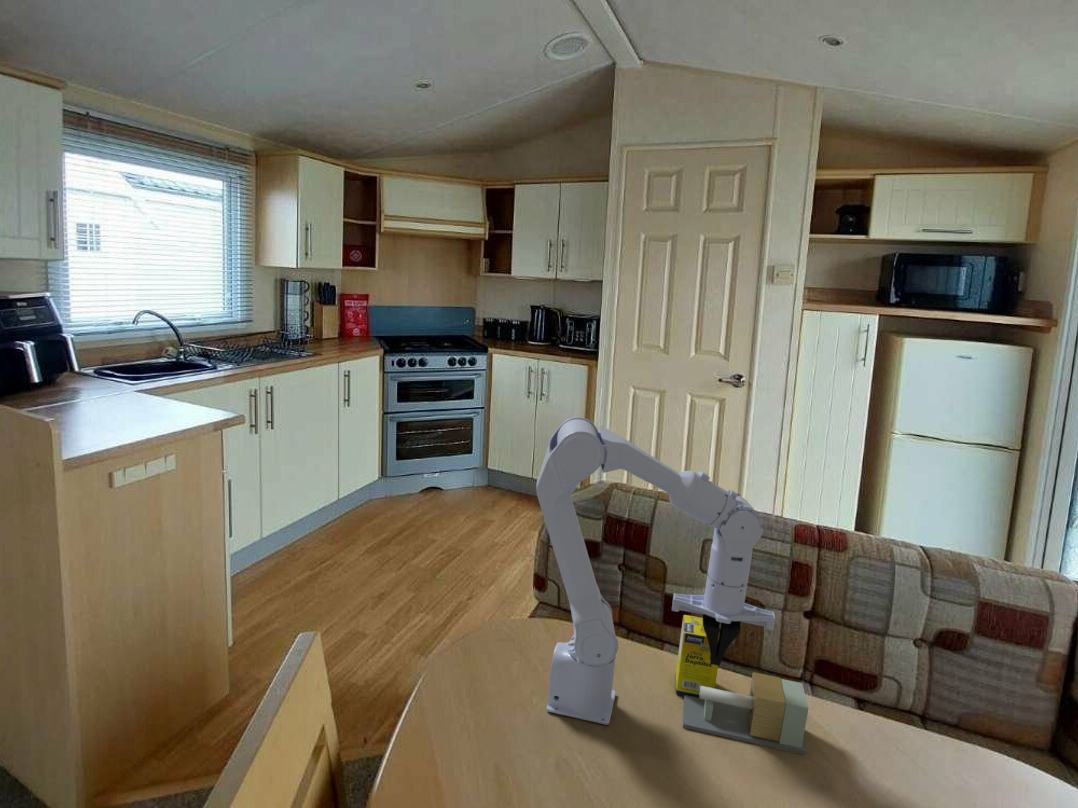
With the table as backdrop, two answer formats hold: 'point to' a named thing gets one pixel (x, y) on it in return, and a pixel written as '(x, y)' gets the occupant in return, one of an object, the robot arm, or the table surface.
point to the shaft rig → (746, 716)
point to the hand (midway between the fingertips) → (714, 661)
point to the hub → (766, 707)
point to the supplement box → (694, 659)
